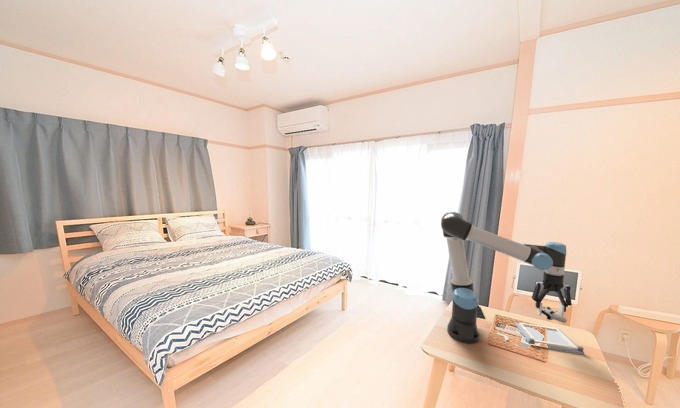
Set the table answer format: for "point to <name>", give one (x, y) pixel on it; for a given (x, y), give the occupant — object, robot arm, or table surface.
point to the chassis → (550, 338)
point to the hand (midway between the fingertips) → (549, 315)
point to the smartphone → (480, 313)
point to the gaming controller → (553, 315)
